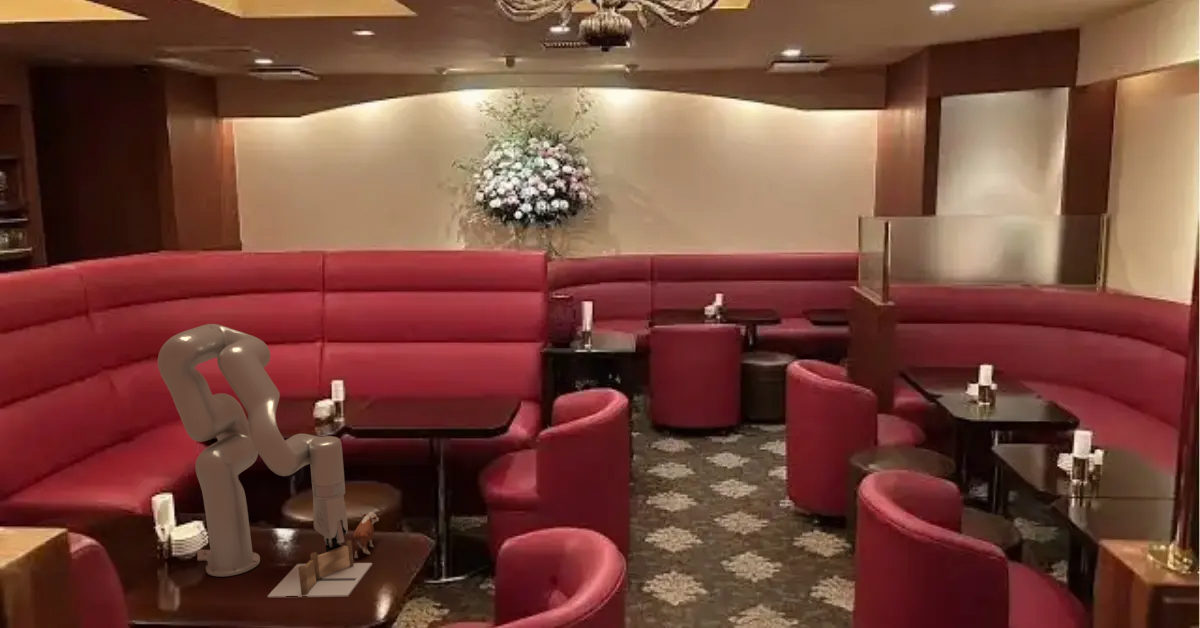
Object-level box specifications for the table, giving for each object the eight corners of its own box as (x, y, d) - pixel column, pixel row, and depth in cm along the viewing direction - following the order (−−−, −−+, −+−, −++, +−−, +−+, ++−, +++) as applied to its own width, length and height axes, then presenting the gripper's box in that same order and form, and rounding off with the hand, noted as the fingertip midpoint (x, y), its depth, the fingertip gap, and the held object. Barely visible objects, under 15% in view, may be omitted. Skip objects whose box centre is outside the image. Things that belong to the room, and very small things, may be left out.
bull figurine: (383, 538, 248) (380, 509, 246) (366, 560, 234) (362, 529, 233) (367, 539, 248) (364, 509, 247) (348, 561, 235) (345, 529, 233)
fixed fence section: (300, 595, 216) (297, 568, 215) (311, 582, 223) (308, 556, 222) (306, 595, 216) (303, 568, 215) (317, 582, 223) (314, 556, 221)
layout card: (267, 597, 217) (267, 595, 217) (297, 565, 234) (297, 563, 234) (348, 596, 215) (347, 594, 215) (372, 564, 232) (372, 562, 232)
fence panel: (315, 580, 223) (312, 555, 222) (311, 578, 224) (308, 553, 223) (355, 564, 230) (352, 540, 229) (351, 563, 231) (349, 539, 230)
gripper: (301, 484, 231) (307, 555, 234) (327, 500, 219) (332, 574, 223) (330, 476, 236) (335, 546, 239) (357, 492, 224) (362, 565, 227)
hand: (334, 559), depth 231 cm, fingers closed
